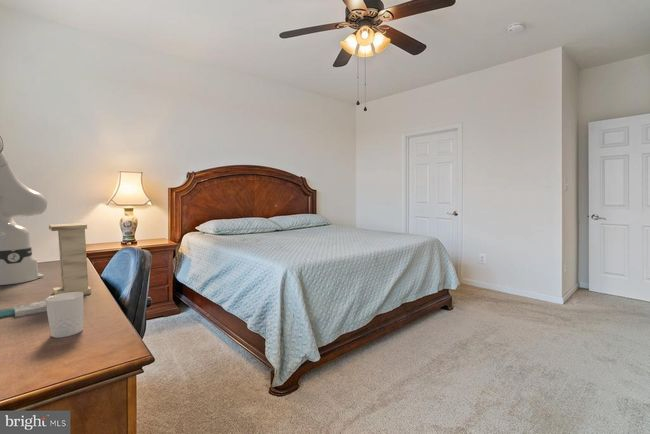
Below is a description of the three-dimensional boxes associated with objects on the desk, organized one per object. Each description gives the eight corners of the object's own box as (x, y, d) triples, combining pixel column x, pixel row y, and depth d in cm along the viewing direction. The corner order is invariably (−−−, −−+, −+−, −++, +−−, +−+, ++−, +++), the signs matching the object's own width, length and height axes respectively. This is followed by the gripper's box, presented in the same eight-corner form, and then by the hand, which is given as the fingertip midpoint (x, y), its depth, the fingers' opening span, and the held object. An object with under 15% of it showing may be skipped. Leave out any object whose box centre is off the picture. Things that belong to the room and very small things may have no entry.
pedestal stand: (53, 292, 124) (48, 224, 122) (85, 287, 131) (81, 222, 129) (56, 299, 116) (51, 226, 114) (91, 293, 123) (86, 224, 121)
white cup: (92, 328, 90) (90, 293, 89) (61, 340, 83) (58, 302, 82) (72, 325, 93) (70, 290, 92) (40, 336, 85) (38, 299, 85)
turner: (-45, 328, 91) (-45, 322, 91) (-42, 320, 97) (-42, 314, 97) (49, 310, 105) (49, 305, 105) (46, 304, 111) (46, 299, 111)
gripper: (-62, 238, 86) (10, 231, 97) (-73, 217, 97) (-7, 213, 108) (-60, 260, 87) (11, 251, 98) (-70, 238, 98) (-6, 232, 109)
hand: (1, 231), depth 103 cm, fingers open, 8 cm apart
